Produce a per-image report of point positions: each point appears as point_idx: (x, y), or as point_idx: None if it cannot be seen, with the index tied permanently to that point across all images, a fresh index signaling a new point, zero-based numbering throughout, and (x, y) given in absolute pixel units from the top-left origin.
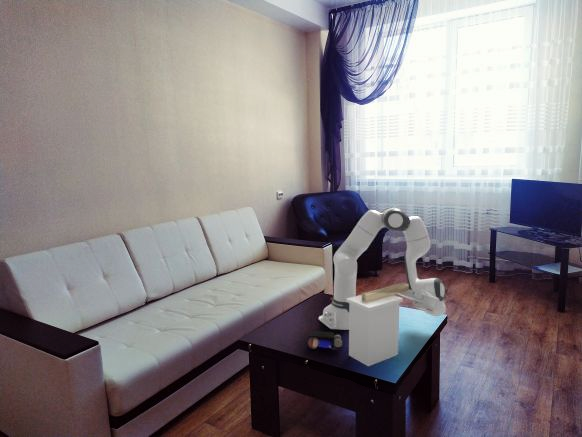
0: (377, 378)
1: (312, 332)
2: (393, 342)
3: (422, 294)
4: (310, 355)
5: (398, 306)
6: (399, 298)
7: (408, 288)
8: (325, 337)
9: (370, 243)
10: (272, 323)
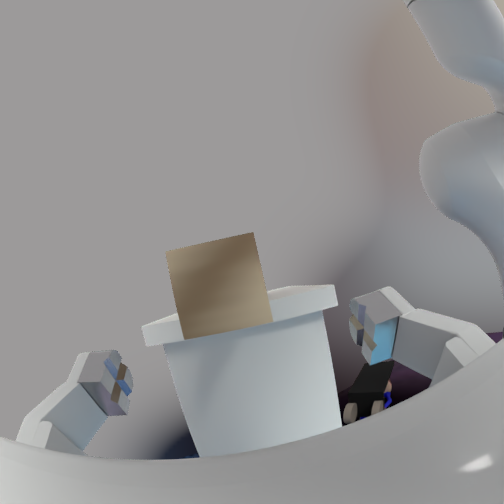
0: (189, 455)
1: (382, 365)
2: None
3: (22, 443)
4: (345, 397)
5: (171, 367)
6: (154, 322)
7: (178, 310)
8: (354, 383)
9: (472, 25)
10: (491, 335)
